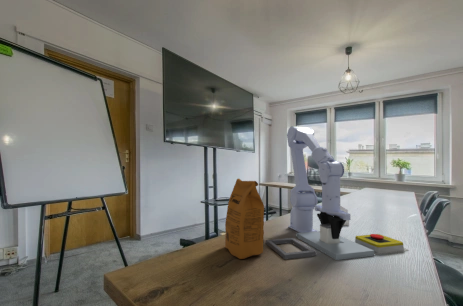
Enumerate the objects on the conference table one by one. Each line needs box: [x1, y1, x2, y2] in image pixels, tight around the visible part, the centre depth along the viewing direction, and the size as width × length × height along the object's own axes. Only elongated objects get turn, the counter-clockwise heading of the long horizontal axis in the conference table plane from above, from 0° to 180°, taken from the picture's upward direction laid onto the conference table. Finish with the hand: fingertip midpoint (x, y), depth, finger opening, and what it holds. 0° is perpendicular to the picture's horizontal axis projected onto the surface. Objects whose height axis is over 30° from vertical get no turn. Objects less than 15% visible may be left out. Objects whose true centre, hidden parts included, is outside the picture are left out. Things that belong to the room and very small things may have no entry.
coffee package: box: [224, 178, 265, 260], centre depth 67 cm, size 10×12×22 cm
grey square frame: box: [265, 237, 317, 260], centre depth 68 cm, size 12×10×1 cm
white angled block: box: [340, 205, 350, 226], centre depth 101 cm, size 4×10×9 cm
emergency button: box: [354, 233, 409, 256], centre depth 72 cm, size 9×4×15 cm
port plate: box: [295, 230, 375, 261], centre depth 73 cm, size 20×14×2 cm
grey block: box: [319, 223, 341, 244], centre depth 73 cm, size 4×5×6 cm
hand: (331, 236), depth 73 cm, fingers closed on grey block, 3 cm apart
